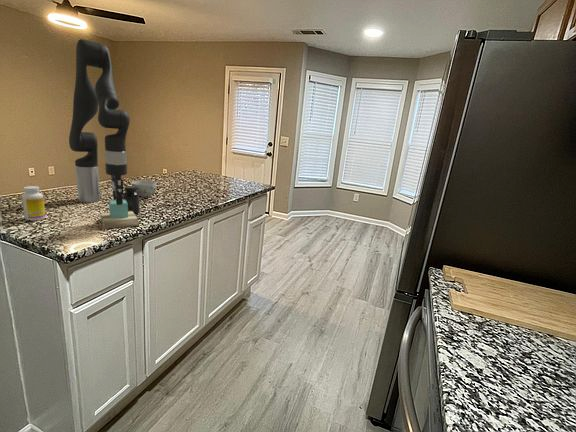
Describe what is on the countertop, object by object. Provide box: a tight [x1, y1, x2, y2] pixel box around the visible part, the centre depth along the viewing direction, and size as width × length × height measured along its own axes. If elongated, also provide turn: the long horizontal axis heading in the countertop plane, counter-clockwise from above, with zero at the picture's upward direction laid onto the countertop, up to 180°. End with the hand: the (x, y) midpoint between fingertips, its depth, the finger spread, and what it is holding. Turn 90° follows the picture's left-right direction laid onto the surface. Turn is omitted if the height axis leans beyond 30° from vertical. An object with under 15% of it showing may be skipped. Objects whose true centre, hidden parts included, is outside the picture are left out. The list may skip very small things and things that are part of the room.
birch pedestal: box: [100, 211, 139, 229], centre depth 129 cm, size 12×12×3 cm
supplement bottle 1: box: [21, 185, 47, 222], centre depth 122 cm, size 7×7×13 cm
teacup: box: [131, 179, 157, 198], centre depth 172 cm, size 15×12×8 cm
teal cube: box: [108, 199, 128, 218], centre depth 128 cm, size 6×6×6 cm
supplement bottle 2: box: [122, 185, 141, 215], centre depth 143 cm, size 7×7×12 cm
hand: (117, 201), depth 127 cm, fingers open, 8 cm apart
